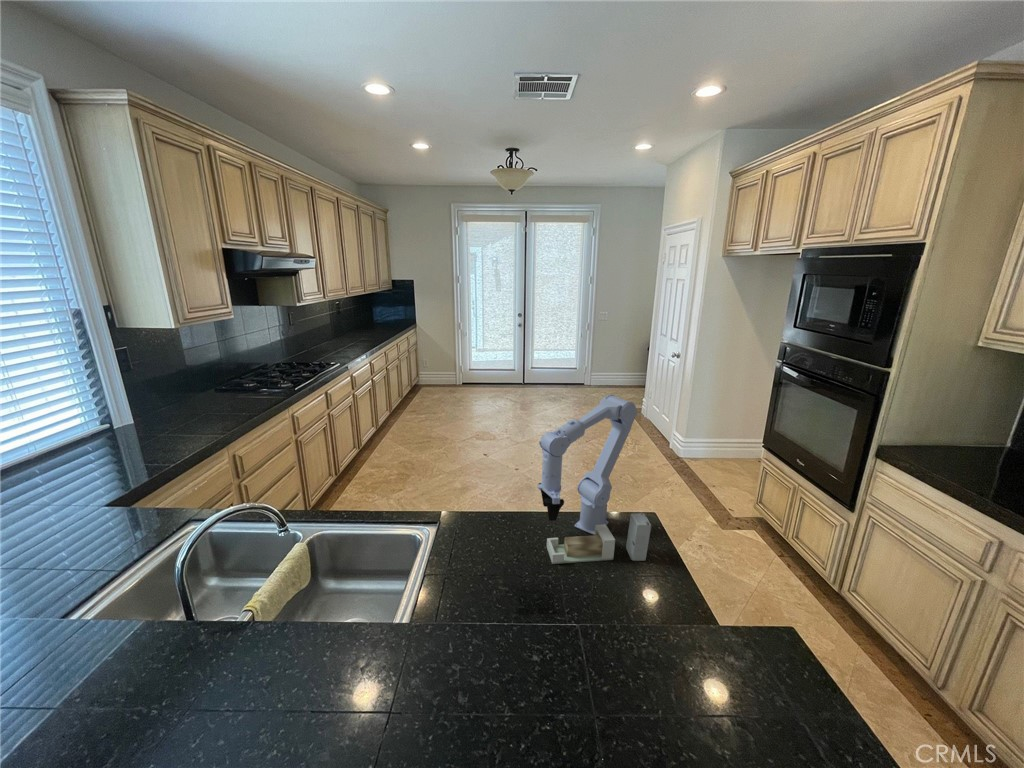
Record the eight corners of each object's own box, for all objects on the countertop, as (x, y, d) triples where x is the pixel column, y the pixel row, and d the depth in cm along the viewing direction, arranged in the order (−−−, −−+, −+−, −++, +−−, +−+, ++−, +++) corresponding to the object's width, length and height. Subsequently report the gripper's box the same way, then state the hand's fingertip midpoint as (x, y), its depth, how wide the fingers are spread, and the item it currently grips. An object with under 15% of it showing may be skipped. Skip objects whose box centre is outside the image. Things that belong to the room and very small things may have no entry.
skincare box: (625, 547, 122) (629, 512, 118) (639, 547, 122) (644, 512, 119) (632, 561, 116) (636, 524, 113) (647, 561, 116) (651, 524, 113)
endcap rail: (604, 543, 123) (605, 524, 122) (613, 559, 116) (615, 539, 114) (546, 546, 121) (547, 527, 119) (552, 564, 114) (553, 543, 112)
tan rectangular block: (602, 546, 121) (603, 534, 120) (606, 553, 118) (607, 542, 117) (563, 548, 120) (564, 537, 119) (567, 556, 116) (567, 544, 115)
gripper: (534, 461, 125) (532, 500, 129) (543, 484, 111) (541, 527, 115) (556, 461, 126) (553, 499, 130) (568, 483, 112) (565, 526, 116)
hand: (549, 512), depth 122 cm, fingers open, 7 cm apart
